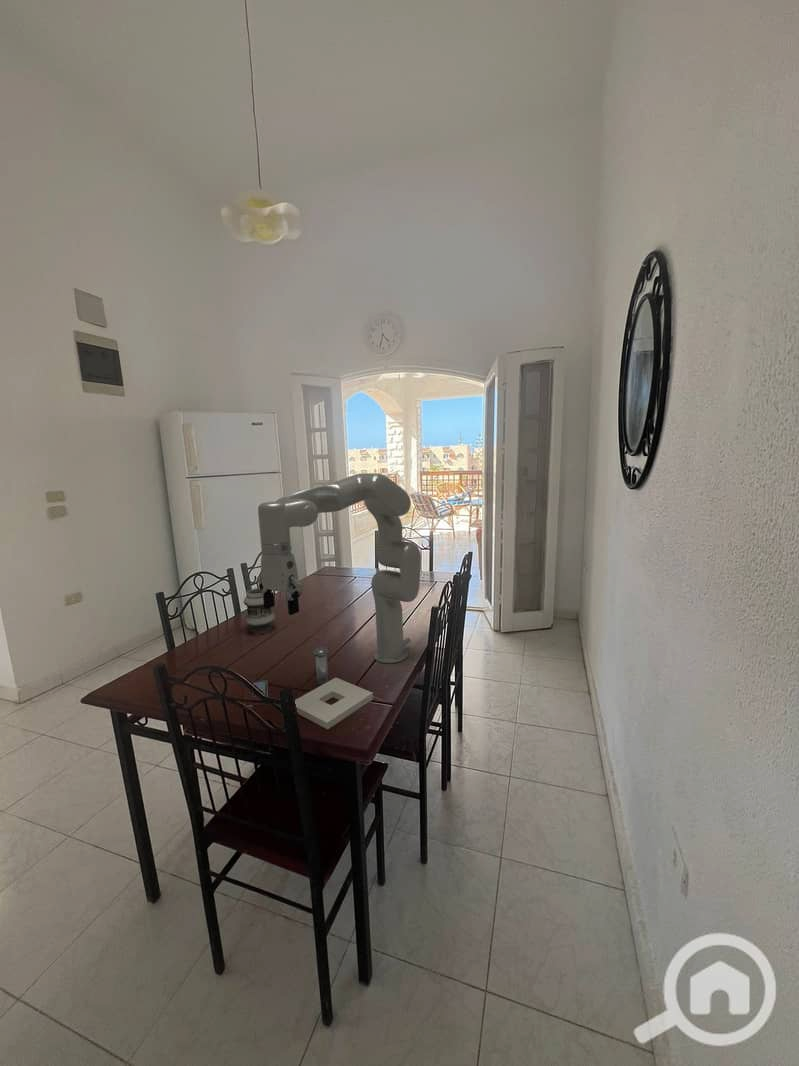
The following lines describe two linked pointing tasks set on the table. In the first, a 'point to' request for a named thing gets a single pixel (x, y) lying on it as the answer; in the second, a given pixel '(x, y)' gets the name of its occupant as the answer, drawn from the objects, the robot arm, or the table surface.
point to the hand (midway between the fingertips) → (281, 610)
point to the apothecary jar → (258, 613)
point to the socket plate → (328, 714)
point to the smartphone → (261, 687)
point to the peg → (321, 664)
